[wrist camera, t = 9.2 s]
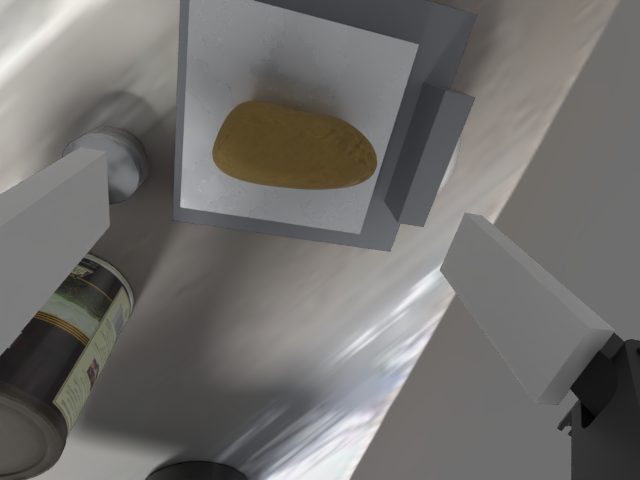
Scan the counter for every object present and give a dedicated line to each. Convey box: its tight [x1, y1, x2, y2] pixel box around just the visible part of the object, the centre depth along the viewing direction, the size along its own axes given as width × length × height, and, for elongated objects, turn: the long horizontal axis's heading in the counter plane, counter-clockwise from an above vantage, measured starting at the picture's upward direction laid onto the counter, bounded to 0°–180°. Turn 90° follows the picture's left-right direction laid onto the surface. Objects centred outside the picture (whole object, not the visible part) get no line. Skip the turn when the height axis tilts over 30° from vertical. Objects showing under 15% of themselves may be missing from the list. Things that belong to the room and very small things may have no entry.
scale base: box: [173, 0, 477, 252], centre depth 26 cm, size 18×19×7 cm
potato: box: [212, 101, 377, 190], centre depth 20 cm, size 7×8×8 cm
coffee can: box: [0, 253, 134, 480], centre depth 28 cm, size 10×10×14 cm
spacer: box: [62, 127, 150, 204], centre depth 27 cm, size 5×5×3 cm
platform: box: [180, 0, 419, 234], centre depth 24 cm, size 13×13×1 cm
